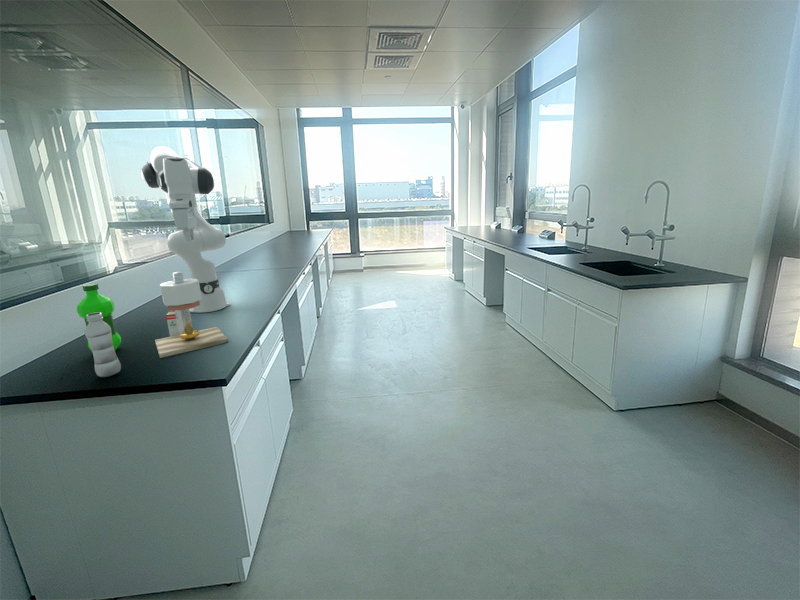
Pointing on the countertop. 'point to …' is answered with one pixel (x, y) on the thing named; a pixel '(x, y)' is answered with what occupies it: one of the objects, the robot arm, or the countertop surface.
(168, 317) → the ink box
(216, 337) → the oak base board
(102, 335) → the plastic bottle
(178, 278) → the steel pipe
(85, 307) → the plastic bottle
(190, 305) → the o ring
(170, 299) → the sleeve
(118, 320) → the countertop surface
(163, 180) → the robot arm
